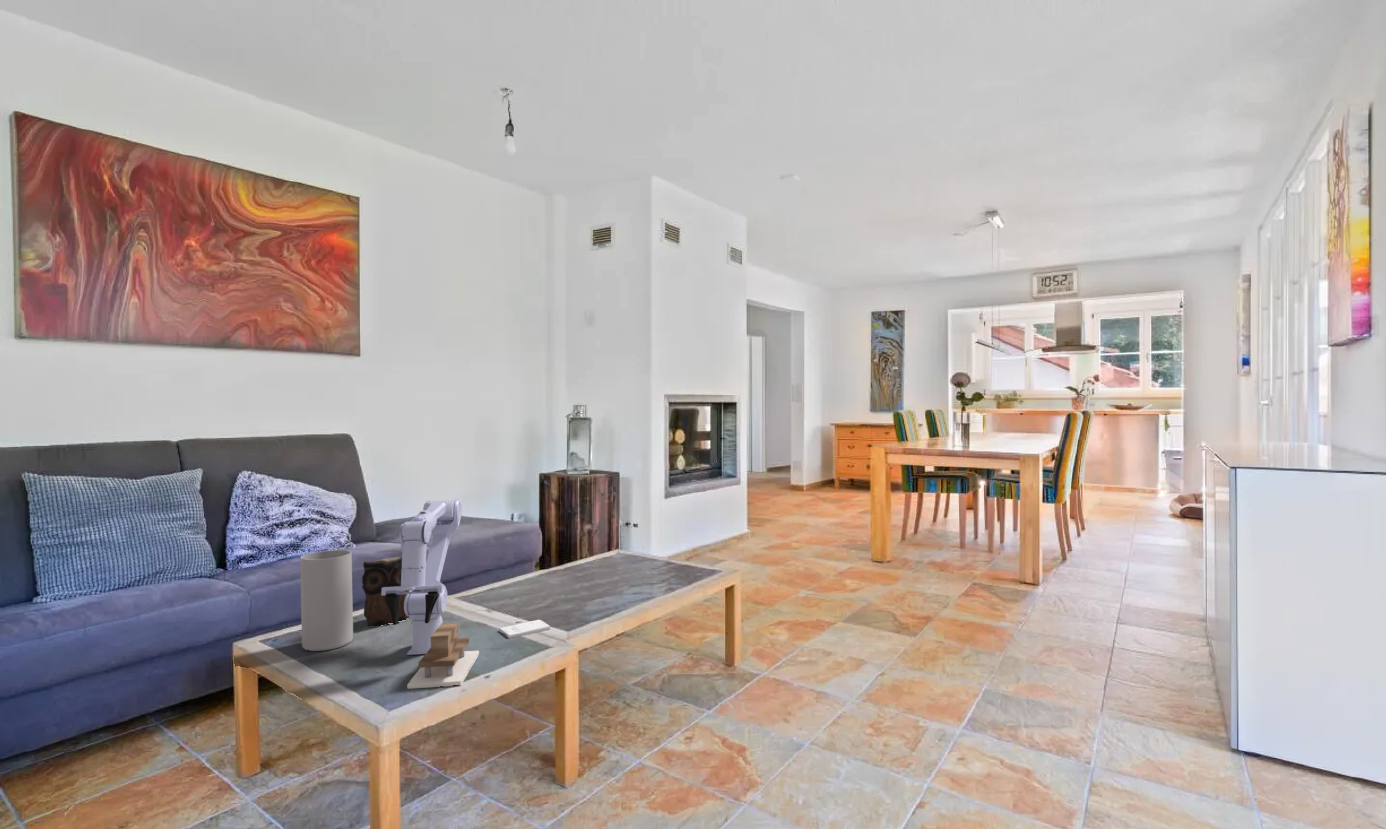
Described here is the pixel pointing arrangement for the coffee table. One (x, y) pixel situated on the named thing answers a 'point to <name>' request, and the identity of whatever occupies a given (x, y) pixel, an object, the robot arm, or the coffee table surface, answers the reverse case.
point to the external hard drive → (524, 628)
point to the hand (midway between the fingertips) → (411, 623)
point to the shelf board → (444, 659)
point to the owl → (373, 582)
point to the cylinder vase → (326, 600)
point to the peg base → (444, 673)
